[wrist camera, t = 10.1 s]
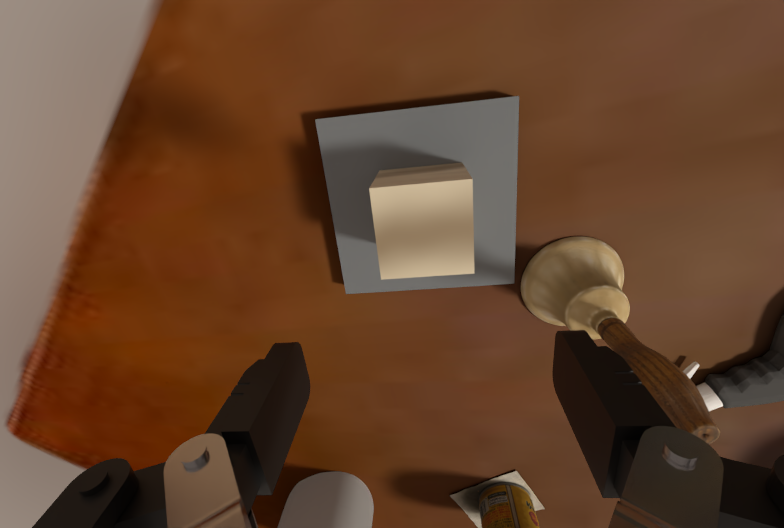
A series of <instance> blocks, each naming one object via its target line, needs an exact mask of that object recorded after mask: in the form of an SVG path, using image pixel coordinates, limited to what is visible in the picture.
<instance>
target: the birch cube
mask: <svg viewBox="0 0 784 528" xmlns="http://www.w3.org/2000/svg"><path fill="white" fill-rule="evenodd" d="M369 192H370V199H371V207H372V214H373V222H374V229H375V237H376V245H377V252H378V260H379V267H380V275H381V280H383V279H398V278H414V277H429V276H445V275H460V274H475V272H474V224H473V179H472V177H471V176H470V174H469V172H468V171H467V169H466V168H465V166H464V165H463V163H462V162H461V163H451V164H441V165H431V166H420V167H410V168H400V169H389V170H380V171H379V172H378V174H377V176H376V177H375V179H374V181H373V183H372V184H371V186H370V188H369Z"/></svg>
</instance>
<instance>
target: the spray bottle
mask: <svg viewBox="0 0 784 528" xmlns="http://www.w3.org/2000/svg"><path fill="white" fill-rule="evenodd" d="M698 367H699V364H698V363H697V362H693V363H692V364H691V365H689V366H688V367H687V368H686V369H685V370H684V371H683V372H684V373H685V374H686V375H687V376H688V377H689V378H691V377H692V376H693V375H694V373H695V372H696V370H697V368H698ZM696 387H697V389H698V390H699V392H700V394H701V396H702V397H703V400H704V402H705V404H706V406H707V409H708V411H711V410H714V409H716V408H719V407H722V406H723V407H724V408H733V407H742V406H751V405H760V404H768V403H773V402H779V401H784V314H783V315H782V317H781V319H780V321H779V323H778V326H777V329H776V331H775V334H774V337H773V340H772V343H771V346H770V350H769V351H768V352H767V353H766V354H765V355H764V356H762V357H759V358H755V359H752V360H751V361H749V362H748V363H747V364H746V365H741V366H735V367H732V368H731V369H729V370H728V371H727V372H725V373H724V374H708V376H707V377H706V378H705V383H702V384H700V385H697V386H696Z"/></svg>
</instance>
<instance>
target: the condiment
mask: <svg viewBox="0 0 784 528" xmlns="http://www.w3.org/2000/svg"><path fill="white" fill-rule="evenodd" d="M478 491H479V492H478ZM450 497H451V498H452V499H454V501H455V502H456V503H457V504H458V505H459V506H460V507H461V508H462V509H463V510H464V512H465V513H466V514H467V515H468V516H469V518H470V519H471V520H472V521H473V522H474V523H475V525H476V526H477V527H478V528H540V527H539V523H538V520H537V517H536V513H535V511H537V510H541V509H545V508H544V507H543V506H542V504H541V503H540V501H539V500H538V498H537V497H536V496H535V494H534V493H533V492H532V490H531V489H530V488H529V486H528V485H527V484H526V482H525V481H524V480H523V479H522V478H521V476H520V475H519V474H518V472H517V471H515V472H512V473H508V474H505V475H502V476H499V477H497V478H493V479H490V480H489V481H485V482H483V483H480V484H479V485H477V486H474V487H470V488H468V489H464V490H462V491H460V492H458V493H456V494H452V495H450Z"/></svg>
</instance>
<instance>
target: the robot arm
mask: <svg viewBox="0 0 784 528" xmlns="http://www.w3.org/2000/svg"><path fill="white" fill-rule="evenodd" d="M553 383H554V388H555V391H556V394H557V396H558V398H559V400H560V403H561V405H562V407H563V409H564V412H565V414H566V416H567V418H568V421H569V423H570V425H571V427H572V430H573V432H574V434H575V436H576V439H577V441H578V443H579V445H580V448H581V450H582V452H583V454H584V456H585V459H586V461H587V463H588V465H589V468H590V470H591V472H592V474H593V477H594V479H595V481H596V483H597V486H598V488H599V490H600V492H601V495H602V497H603V498H620V502H619V501H618V502H617V504H616V507H615V510H614V512H613V515H612V518H611V521H610V524H609V527H608V528H784V455H783V456H781V457H779V458H778V459H777V460H776V461H775V463H774V466H773V468H772V469H768V468H764V467H760V466H755V465H751V464H747V463H742V462H738V461H734V460H730V459H726V458H723V457H720V456H719V455H718V454H717V452H716V451H715V450H714V449H713V448H712V447H711V446H710V445H709V444H707V443H706V442H705V441H703V440H702V439H700V438H699V437H697V436H695V435H694V434H692V433H689V432H687V431H685V430H682V429H679V428H676V426H675V425H674V424H673V422H672V421H671V420H670V418H669V417H668V416H667V414H666V413H665V412H664V411H663V409H662V408H661V407H660V405H659V404H658V403H657V401H656V400H655V399H654V397H653V396H652V395H651V393H650V392H649V391H648V390H647V388H646V387H645V386H644V385H642V382H641V380H640V379H639V378H638V376H637V375H636V374H634V373H633V370H632V369H631V367H630V366H629V365H628V363H627V362H626V361H625V359H624V358H623V357H622V356H620V355H619V354H617V353H616V352H614V351H613V350H611V349H610V348H608V347H607V346H601V347H597V346H596V344H595V343H594V341H593V340H592V338H591V337H590V336H589V334H588V333H587V331H585V330H571V331H558V332H557V333H556V337H555V348H554V361H553ZM309 394H310V380H309V375H308V371H307V367H306V363H305V359H304V355H303V352H302V348H301V345H300V344H299V343H298V342H292V343H275V344H274V345H273V346H272V348H271V349H270V351H269V353H268V354H267V356H266V358H265V359H260V360H258V361H257V362H255V363H254V364H253V365H252V366H251V367H249V368H248V369H247V370H246V371H245V372H244V374H243V376H242V377H241V379H240V380H239V382H238V385H236V386H235V388H234V389H233V391H232V393H231V396H229V397H228V399H227V400H226V402H225V403H224V405H223V406H222V408H221V410H220V411H219V413H218V414H217V416H216V417H215V419H214V420H213V422H212V423H211V425H210V426H209V428H208V430H207V431H206V433H205V434H203V435H199V436H196V437H194V438H192V439H190V440H188V441H186V442H185V443H183V444H182V445H181V446H179V447H178V448H177V449H176V450H175V451H174V452H173V453H172V454H171V455H170V457H169V458H168V460H167V462H165V463H161V464H158V465H154V466H151V467H147V468H144V469H141V470H137V471H133V470H132V468H131V466H130V464H129V463H128V462H127V461H126V460H124V459H120V458H116V459H110V460H106V461H103V462H100V463H98V464H96V465H94V466H92V467H91V468H89V469H87V470H86V471H84V472H83V473H82V474H80V475H79V476H78V477H76V478H75V479H74V480H73V481H72V482H71V483H70V484H69V485H68V486H67V488H66V489H65V490H64V491H63V492H62V493H61V494H60V496H59V497H58V498H57V499H56V500H55V501H54V503H53V504H52V505H51V506H50V507H49V509H48V510H47V511H46V512H45V513H44V514H43V516H42V517H41V518H40V519H39V520H38V521H37V522H36V524H35V525H34V526H33V527H32V528H258V526H257V523H256V519H255V516H254V513H253V510H252V508H251V507H252V505H253V503H254V500H255V498H256V495H272V494H273V491H274V488H275V486H276V483H277V480H278V478H279V475H280V472H281V470H282V467H283V465H284V462H285V459H286V457H287V454H288V451H289V449H290V446H291V444H292V441H293V438H294V436H295V433H296V430H297V428H298V425H299V422H300V420H301V417H302V415H303V412H304V409H305V407H306V404H307V401H308V399H309Z"/></svg>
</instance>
